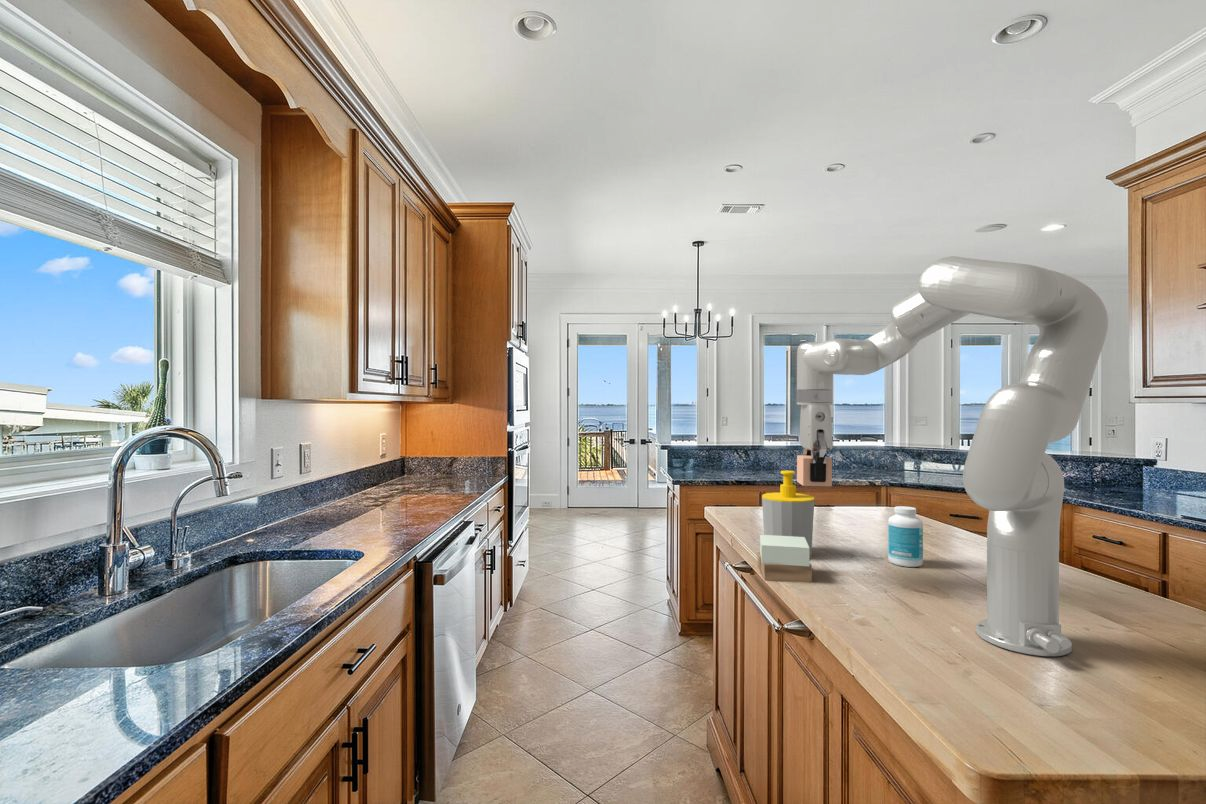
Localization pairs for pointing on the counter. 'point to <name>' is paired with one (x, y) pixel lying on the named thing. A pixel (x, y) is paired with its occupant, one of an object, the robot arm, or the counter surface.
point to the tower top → (784, 550)
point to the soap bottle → (788, 511)
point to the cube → (804, 471)
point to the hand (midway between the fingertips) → (813, 478)
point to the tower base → (784, 572)
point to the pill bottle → (905, 537)
